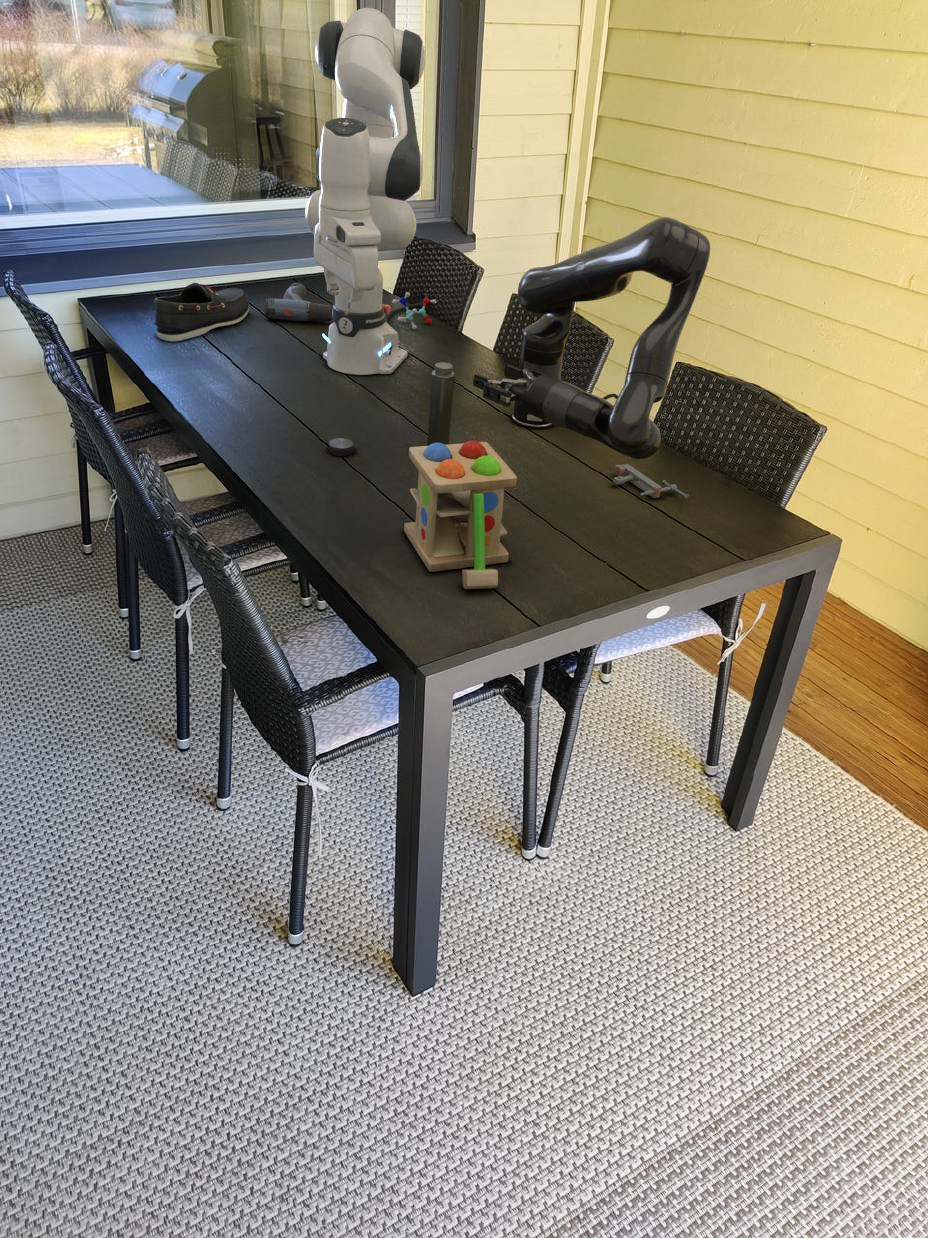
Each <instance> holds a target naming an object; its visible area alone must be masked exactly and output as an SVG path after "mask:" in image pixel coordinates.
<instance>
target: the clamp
mask: <svg viewBox="0 0 928 1238" xmlns="http://www.w3.org/2000/svg"><path fill="white" fill-rule="evenodd" d="M613 476H615V477H613V481H612V482H613V484H615V485H617V486H619V485H624V484H625V483H626V482H630V483H631V484H633V485H634V486H636V487H637V488H638V489H640V491H642V492H640V493H639V496H640V497H642V496H650V497H651V498H653V499H656V498H660V497H661V493H665V492H671V493H672V492H675V493H677V494H679V495H680V496H681V497H683V498H684V500H688V499H689V494H688V493H687V494H686V493H684V492H683V491H681V490H679V489H678V486H677V484H675V483H673V484H670V483H669V482H668V481H667V480H666V479H662V481H661V485H665V486H666V487H663V486H661V485H660V484H658V483H656V482H655V481H654V480H652V479H651V478H649V477H648V476H646V475H645V474H643V473H642V472H640V471H639V470H638V469H636V468H635V467H634V466H631V465H630V464H629V463H624V464H615V467H614V472H613Z"/></svg>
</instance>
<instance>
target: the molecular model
mask: <svg viewBox="0 0 928 1238" xmlns="http://www.w3.org/2000/svg"><path fill="white" fill-rule="evenodd" d="M410 296H411V293H410V292H409V291H406V292H405V295H404V297H401V298H400V299H392V300H391V302H392V305H396V304H397V303H400V304H401V305H403V307H404V306H405V308H406V310H405V311H406V312H405V316H403V317H402V316H398V318H397V320H398V322H403V323H407V322H410V324H411V329H412V330H413V331H414V330H417V327H418V326H417V325H416V324H415V323H414V321H413V320H414V315H419V316H422V317H423V319H424V320H425V323H426V324H427V325H431V324H432V322H433V320H432V318H430V317H429V316H428V315H427V313H426V310H425V309H426V307H427V304H429V303H430V304H433V305H436V304H437V300H436V299H435V298H434V299H428V298H429V297H428V298H425V297H423V301H422V302H424V305H423V306H422V308H420V309H419V310H418V309H417V308H412V309H408V307H407V306H408V305H407V298H408V297H410Z"/></svg>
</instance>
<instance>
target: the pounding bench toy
mask: <svg viewBox="0 0 928 1238" xmlns="http://www.w3.org/2000/svg"><path fill="white" fill-rule="evenodd" d="M408 458H409V459H410V461H411V462H412V464H413V465H414V467H415V468H416V470H417V471H418V477H417V479H418V480H417V488H415V487H410V488H409V493H410V494H411V496H412V497H413V499H414V500H415V503H416V512H415V521H410V522H405V523H403V525H404V526H403V531H404V534H405V535H406V536H407V539H408V541H410V543H411V545H412V546H413V548H414V549H415V551H416V553H417V554H418V556H419V558H420V559H421V560H422V562H423V564H424V565H425V567H426V568H427V570H428V571H429V572H431V573H432V572H433V573H435V572H441V571H449V570H458V569H462V570H461V571H462V572H461V573H462V575H461V576H462V587H463V589H464V590H479V589H483V590H484V589H496V588H498V586H499V570H497V569H495V568H486V566H488V565H495V564H502V563H508V561H509V557H510V555H509V554H510V553H509V552H508V551H507V549H506V548H505V546H504V545H503V544H502V542H500V541H501V539H500V538H501V537H504V536H507V535H508V530H507V529H506V528H505V527H504V525H503V524H502V521H503V520H502V519H503V509H504V499H505V488H512V487H516V486H517V481H518V477H517V475H516V474H515V473H514V471H513V470H512V469H511V468H510V467H509V465H508V464H507V463H506V462H505V461H504V459H502V458H501V456H500V454H499V453H497V452H496V450H495V449H494V448H493V447H492V446H491V444H490V443H488V442H487V441H477V440H468V441H466V442H465V443H451V444H450V443H449V445H444V444H442V443H433V444H431V445H429V446H427V445H422V446H421V445H420V446H410V447H409V449H408ZM472 567H473V568H472ZM464 568H471V569H464Z"/></svg>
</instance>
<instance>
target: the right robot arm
mask: <svg viewBox="0 0 928 1238" xmlns="http://www.w3.org/2000/svg"><path fill="white" fill-rule="evenodd" d="M710 255H711V243H710V240H709V238H708V237H707V235H705V234H704V233H703V232H701V231H699V230H698V229H696V228H693V227H691V226H689V225H687V224H685V223H683V222H682V221H680V220H678V219H675V218H673V217H670V216H664V217H663V216H662V217H659V218H656V219H654V220H652V221H650V222H648V223H646V224H644V225H643V226H641V227H639V228H637V229H636V230H634V231H631V233H629V234H626V235H624V236H622V237H619V238H618V239H615V240H612V241H609V242H608V243H603V244H601V245H597V246H595V247H592V248H589V249H587V250H585V251H582V252H581V253H578V254H575V255H573V256H570V257H568V258H566V259H564V260H562V261H559V262H557V263H555V264H551V265H546V266H537V267H532V268H529V269H528V270H527V271H526V272H524V274H523V275H522V276H521V278H520V280H519V283H518V287H517V297H518V301H519V304H520V306H521V307H522V308H523V309H524V310H525V311H526V312H528V313H530V314H533V315H542V316H541V317H540V318H539V319H538V320H537V321H535V322H533V323H532V324H530V325H528V326H526V327H525V328H524V329H523V331H522V335H521V344H520V352H519V362H518V367H516V366H514V365H511V364H506V365H505V366H504V372H503V375H504V378H502V379H501V380H497V379H491V378H489V377H487V376H484V375H482V374H480V373H475V374H474V375H473V380H472V384H473V386H474V387H475V388H478V389H479V390H482V398H483V399H486V400H487V401H491V402H494V403H496V404H499V405H501V406H503V407H507V408H509V407H511V403H512V402H514V403H513V413H512V415H511V418H512V420H513V421H514V423H515V424H517V425H520V426H523V427H526V428H531V429H547V428H550V427H552V426H553V425H554V426H556V427H559V428H562V429H566V430H569V431H571V432H575V433H576V434H578V435H581V436H583V437H586V438H589V439H593V440H594V441H597V442H599V443H601V444H603V445H604V446H606V447H608V448H610V449H611V450H614V451H616V452H618V453H619V454H621V455H623V456H625V457H628V458H630V459H633V460H645V459H648V458H650V457H652V456H654V455H655V454H656V453H657V452H658V450H659V449H660V447H661V443H662V434H661V431H660V428H659V427H658V425H657V424H656V422H654V420H652V419H651V418H650V414H651V411H652V408H653V406H654V404H656V403H659V402H661V401H662V400H663V398H664V397H665V394H666V392H667V387H668V384H669V379H670V374H671V370H672V366H673V361H674V357H675V354H676V350H677V346H678V343H679V341H680V337H681V334H682V332H683V329H684V327H685V325H686V322H687V320H688V317H689V315H690V312H691V310H692V308H693V304H694V303H695V299H696V297H697V295H698V291H699V289H700V287H701V284H702V281H703V278H704V276H705V273H706V270H707V268H708V264H709V260H710ZM635 272H644V273H646V274H650V275H653V276H654V277H656V278H659V279H660V280H662V281H664V282H666V283H669V284H670V290H669V295H668V298H667V301H666V304H665V306H664V308H663V309H662V311H661V312H660V313H659V314H658V315H657V316H656V318H654V320H653V321H652V322H651V323H650V324H649V325H648V326H647V327H646V328H645V329H644V330H643V332H641V334H640V335H639V336H638V338H637V340H636V341H635V343H634V345H633V348H632V350H631V353H630V358H629V361H628V366H627V369H626V376H625V378H624V379H625V381H624V384H623V387H622V388H621V390H620V392H619V394H617V393H609V394H606V395H605V396H603V397H600V396H598V395H596V394H593V393H591V392H588V391H586V390H584V389H583V388H581V387H579V386H576V385H575V384H572V383H569V382H567V381H564V380H563V379H562V378H561V376H562V369H563V362H564V361H563V360H564V354H565V346H566V342H567V339H568V338H569V335H570V331H571V326H572V321H573V316H574V311H575V306H576V303H581V302H583V303H584V302H593V301H599V300H602V299H603V300H604V299H607V298H610V297H614V296H616V295H618V294H621V293H622V292H624V290H625V289H626V288H627V287H628V286H629V284H630V283H631V282H632V279H633V275H634V273H635ZM507 385H508V388H506V386H507ZM610 398H614V399H615V402H614V404H612V403H611V402H609V401H608V400H609V399H610Z"/></svg>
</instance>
